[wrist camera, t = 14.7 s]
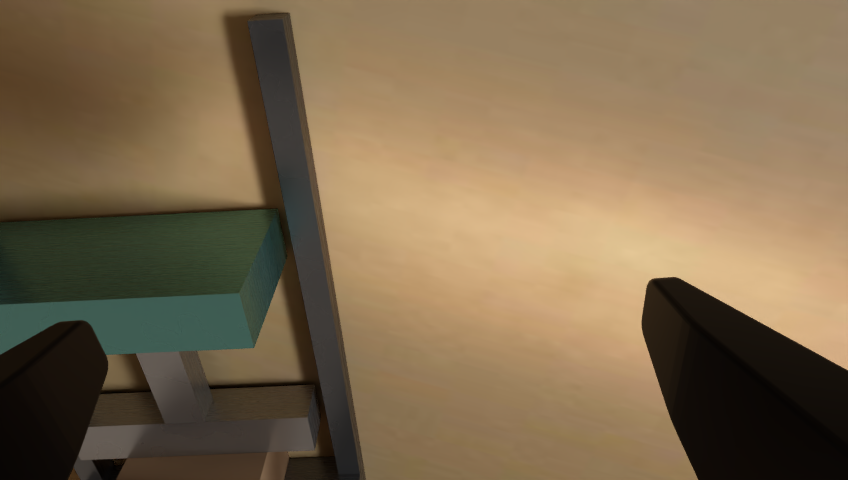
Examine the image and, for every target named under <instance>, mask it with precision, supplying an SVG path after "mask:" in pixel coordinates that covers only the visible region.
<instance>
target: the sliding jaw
mask: <svg viewBox="0 0 848 480" xmlns="http://www.w3.org/2000/svg"><path fill="white" fill-rule="evenodd" d="M286 259H287V252H286V247H285V242H284V237H283V232H282V228H281V223H280V218H279V213H278V209H262V210H242V211H222V212H202V213H182V214H162V215H142V216H121V217H101V218H81V219H61V220H41V221H21V222H1V223H0V354H2V353H4V352H6V351H8V350H9V349H11V348H13V347H15V346H16V345H18V344H20V343H22V342H23V341H25V340H27V339H29V338H31V337H32V336H34V335H36V334H38V333H39V332H41V331H43V330H45V329H47V328H48V327H50V326H52V325H54V324H56V323H58V322H62V321H75V320H84V321H87V322H88V323H89V324H90V325H91V326H92V328H93V330H94V332H95V334H96V336H97V338H98V340H99V342H100V344H101V346H102V348H103V350H104V352H105V354H106V355H111V354H133V353H136V355H137V357H138V360H139V362H140V365H141V367H142V369H143V372H144V374H145V377H146V379H147V381H148V384H149V386H150V388H151V391H152V392H139V393H117V394H100V395H99V398H98V401H97V404H96V407H95V410H94V413H93V416H92V418H91V421H90V424H89V427H88V430H87V433H86V436H85V439H84V442H83V444H82V447H81V450H80V452H79V455H78V456H79V457H80V459H81V460H97V459H120V458H144V457H168V456H191V455H215V454H238V453H262V452H285V451H309V450H315V446H316V441H317V436H318V430H319V425H320V420H321V414H320V410H319V405H318V400H317V395H316V390H315V386H314V385H297V386H274V387H252V388H229V389H210V388H209V385H208V382H207V379H206V376H205V373H204V370H203V367H202V365H201V362H200V359H199V356H198V353H197V351H199V350H221V349H243V348H254V347H255V344H256V341H257V339H258V336H259V333H260V330H261V328H262V325H263V322H264V319H265V317H266V314H267V311H268V308H269V306H270V303H271V300H272V297H273V295H274V292H275V289H276V286H277V284H278V281H279V278H280V276H281V273H282V270H283V267H284V265H285V262H286Z"/></svg>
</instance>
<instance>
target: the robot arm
mask: <svg viewBox="0 0 848 480" xmlns="http://www.w3.org/2000/svg"><path fill="white" fill-rule="evenodd" d="M642 331H643V336H644V339H645V342H646V345H647V348H648V351H649V354H650V357H651V360H652V364H653V367H654V370H655V373H656V376H657V379H658V382H659V385H660V388H661V391H662V394H663V397H664V401H665V404H666V407H667V409H668V412H669V415H670V418H671V420H672V423H673V425H674V427H675V430H676V432H677V434H678V437H679V439H680V441H681V443H682V445H683V447H684V450H685V452H686V454H687V456H688V458H689V460H690V463H691V465H692V467H693V469H694V471H695V473H696V476H697V478H698V480H848V370H846V369H844V368H842V367H841V366H839V365H837V364H835V363H833V362H831V361H830V360H828V359H826V358H824V357H822V356H821V355H819V354H817V353H815V352H813V351H811V350H810V349H808V348H806V347H804V346H802V345H800V344H799V343H797V342H795V341H793V340H791V339H789V338H788V337H786V336H784V335H782V334H780V333H778V332H777V331H775V330H773V329H771V328H769V327H767V326H766V325H764V324H762V323H760V322H758V321H756V320H755V319H753V318H751V317H749V316H747V315H745V314H744V313H742V312H740V311H738V310H736V309H734V308H733V307H731V306H729V305H727V304H725V303H723V302H722V301H720V300H718V299H716V298H714V297H712V296H711V295H709V294H707V293H705V292H703V291H702V290H700V289H698V288H696V287H694V286H692V285H691V284H689V283H687V282H685V281H683V280H681V279H679V278H677V277H668V278H654V279H652V280H650V281H649V283H648V285H647V288H646V295H645V301H644V308H643V315H642ZM107 371H108V360H107V356H106V354H105V352H104V350H103V348H102V346H101V344H100V342H99V340H98V338H97V336H96V334H95V332H94V330H93V328H92V326H91V325H90V324H89V323H88V322H87V321H84V320H75V321H62V322H58V323H56V324H54V325H52V326H50V327H48V328H47V329H45V330H43V331H41V332H39V333H38V334H36V335H34V336H32V337H31V338H29V339H27V340H25V341H23V342H22V343H20V344H18V345H16V346H15V347H13V348H11V349H9V350H8V351H6V352H4V353H2V354H0V480H68V478H69V476H70V474H71V471H72V469H73V467H74V465H75V462H76V460H77V458H78V455H79V452H80V450H81V447H82V444H83V442H84V439H85V436H86V433H87V430H88V427H89V424H90V421H91V418H92V416H93V413H94V410H95V407H96V404H97V401H98V398H99V395H100V392H101V389H102V387H103V384H104V381H105V378H106V375H107Z"/></svg>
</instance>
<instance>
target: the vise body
mask: <svg viewBox="0 0 848 480" xmlns="http://www.w3.org/2000/svg"><path fill="white" fill-rule="evenodd" d="M247 22H248V27H249V32H250V37H251V42H252V47H253V52H254V57H255V62H256V67H257V72H258V77H259V82H260V86H261V91H262V96H263V101H264V106H265V111H266V116H267V121H268V126H269V131H270V136H271V141H272V146H273V151H274V156H275V161H276V166H277V171H278V176H279V181H280V186H281V191H282V196H283V201H284V206H285V211H286V216H287V221H288V226H289V231H290V236H291V241H292V246H293V251H294V256H295V261H296V265H297V270H298V275H299V280H300V285H301V290H302V295H303V300H304V305H305V310H306V315H307V320H308V325H309V330H310V335H311V340H312V345H313V350H314V355H315V360H316V365H317V370H318V375H319V380H320V385H321V390H322V395H323V400H324V405H325V410H326V415H327V420H328V425H329V430H330V435H331V440H332V444H333V449H334V454H335V457H319V458H295V459H289V461H288V465H287V469H286V474H285V478H284V480H366V478H365V472H364V466H363V460H362V454H361V448H360V442H359V436H358V429H357V423H356V417H355V411H354V405H353V399H352V393H351V387H350V380H349V374H348V368H347V362H346V356H345V350H344V344H343V338H342V331H341V325H340V319H339V313H338V307H337V301H336V295H335V289H334V282H333V276H332V270H331V264H330V258H329V252H328V246H327V240H326V233H325V227H324V221H323V215H322V209H321V203H320V197H319V191H318V184H317V178H316V172H315V166H314V160H313V154H312V148H311V142H310V136H309V129H308V123H307V117H306V111H305V105H304V99H303V93H302V87H301V80H300V74H299V68H298V62H297V56H296V50H295V44H294V38H293V31H292V25H291V19H290V13H282V14H264V15H255V16H254V17H252V18H251V19H250V20H248V21H247ZM122 467H123V466H114V464H113V462H112V460H111V459H97V460H81V459H80V457H79V456H78V458H77V460H76V462H75V465H74V469H75V471H76V473H77V474H78V476H79V478H80V480H116V479H117V477H118V475H119V473H120V471H121V469H122Z"/></svg>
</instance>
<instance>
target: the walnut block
mask: <svg viewBox="0 0 848 480" xmlns="http://www.w3.org/2000/svg"><path fill="white" fill-rule="evenodd" d="M288 461H289V455H288V451H285V452H262V453H238V454H215V455H191V456H168V457H144V458H127V460H126V462H125V463H124V465H123V467H122V469H121V471H120V473H119V475H118V477H117V479H116V480H284V478H285V474H286V469H287V465H288Z"/></svg>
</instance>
